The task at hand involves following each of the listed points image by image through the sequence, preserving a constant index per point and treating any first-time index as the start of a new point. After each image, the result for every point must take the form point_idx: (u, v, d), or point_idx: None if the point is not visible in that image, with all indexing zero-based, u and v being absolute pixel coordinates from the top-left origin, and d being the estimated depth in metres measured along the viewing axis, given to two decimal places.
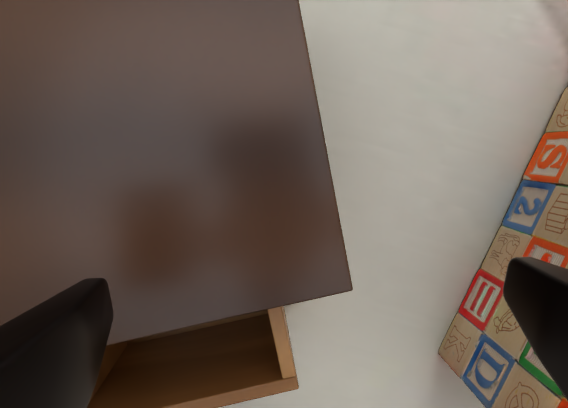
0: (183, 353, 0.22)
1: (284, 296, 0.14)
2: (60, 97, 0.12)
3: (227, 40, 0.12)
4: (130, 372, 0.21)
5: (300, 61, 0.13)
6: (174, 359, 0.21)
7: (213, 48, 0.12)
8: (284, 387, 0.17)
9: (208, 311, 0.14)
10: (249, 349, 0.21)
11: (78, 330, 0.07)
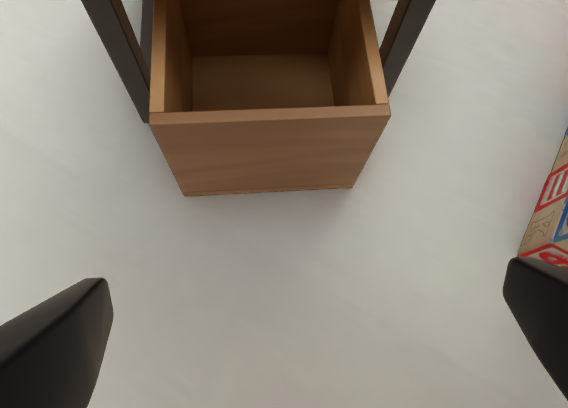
0: None
1: None
2: None
3: None
4: None
5: None
6: None
7: None
8: (377, 111, 0.17)
9: None
10: None
11: (78, 330, 0.07)
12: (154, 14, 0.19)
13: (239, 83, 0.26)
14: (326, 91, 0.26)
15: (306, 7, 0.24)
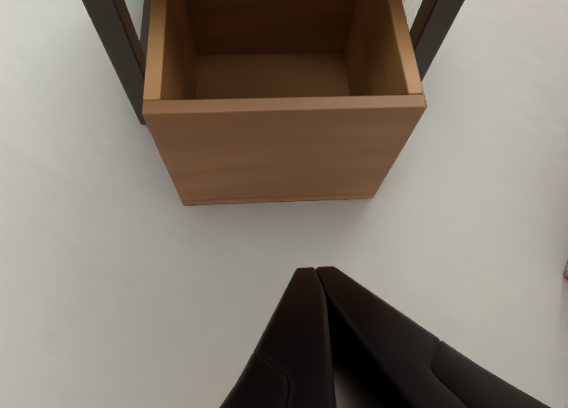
0: None
1: None
2: None
3: None
4: None
5: None
6: None
7: None
8: (410, 101, 0.15)
9: None
10: None
11: None
12: None
13: (247, 83, 0.24)
14: (343, 93, 0.24)
15: None
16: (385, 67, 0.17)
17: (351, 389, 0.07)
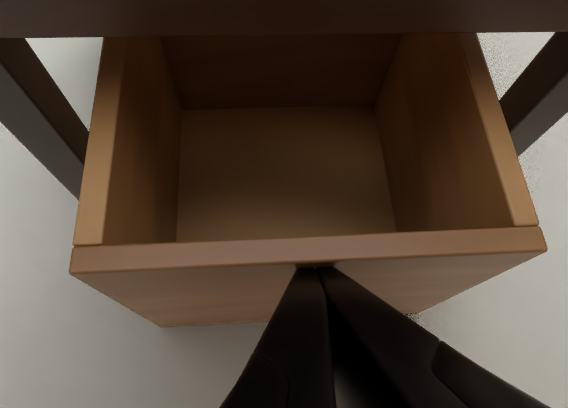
0: None
1: None
2: None
3: None
4: None
5: None
6: None
7: None
8: (520, 241, 0.09)
9: None
10: None
11: None
12: (103, 53, 0.10)
13: (248, 149, 0.18)
14: (375, 161, 0.18)
15: (352, 42, 0.16)
16: (457, 159, 0.12)
17: (351, 389, 0.07)
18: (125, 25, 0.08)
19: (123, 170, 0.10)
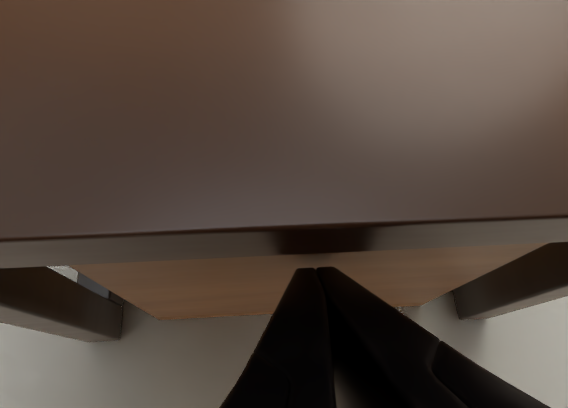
0: None
1: None
2: None
3: None
4: None
5: None
6: None
7: None
8: None
9: (553, 189, 0.05)
10: None
11: None
12: None
13: None
14: None
15: None
16: None
17: (351, 389, 0.07)
18: (88, 259, 0.06)
19: None
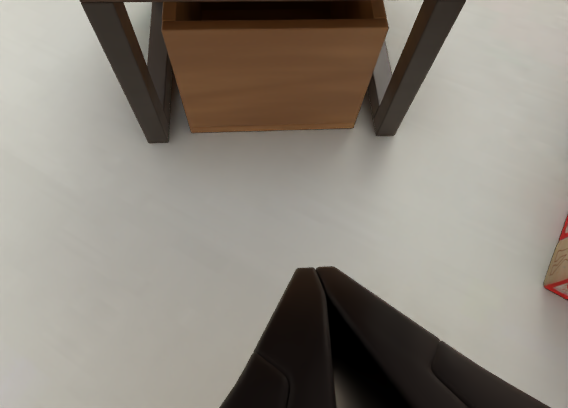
0: None
1: None
2: None
3: None
4: None
5: None
6: None
7: None
8: (375, 23, 0.18)
9: None
10: None
11: None
12: None
13: None
14: None
15: None
16: (359, 4, 0.21)
17: (351, 389, 0.07)
18: None
19: None
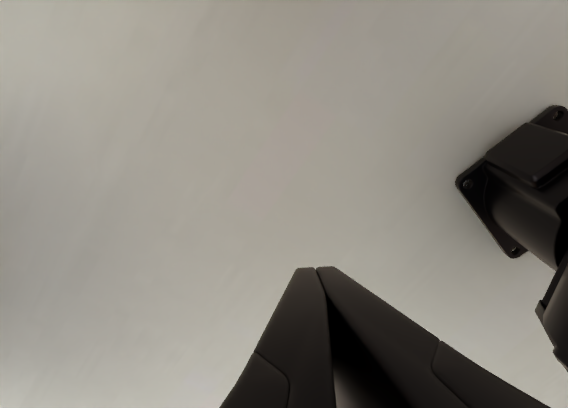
0: None
1: None
2: None
3: None
4: None
5: None
6: None
7: None
8: None
9: None
10: None
11: None
12: None
13: None
14: None
15: None
16: None
17: (351, 389, 0.07)
18: None
19: None
